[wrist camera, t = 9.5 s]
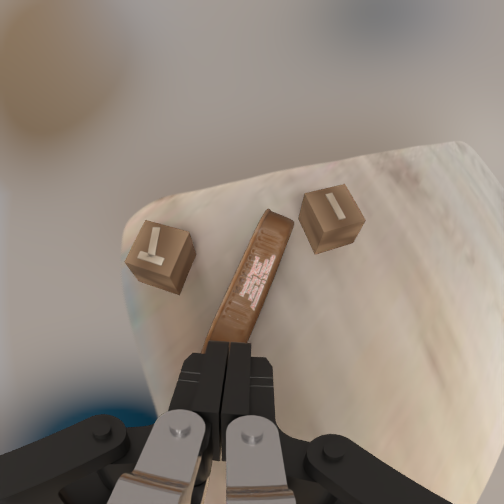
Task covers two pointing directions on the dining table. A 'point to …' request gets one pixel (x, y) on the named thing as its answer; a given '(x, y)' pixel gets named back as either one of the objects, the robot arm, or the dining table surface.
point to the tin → (251, 281)
